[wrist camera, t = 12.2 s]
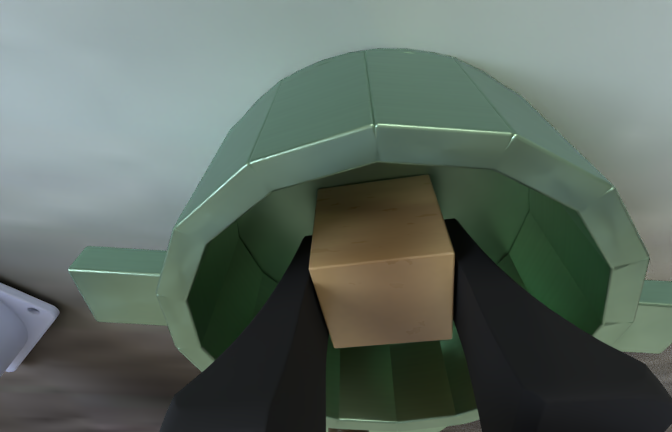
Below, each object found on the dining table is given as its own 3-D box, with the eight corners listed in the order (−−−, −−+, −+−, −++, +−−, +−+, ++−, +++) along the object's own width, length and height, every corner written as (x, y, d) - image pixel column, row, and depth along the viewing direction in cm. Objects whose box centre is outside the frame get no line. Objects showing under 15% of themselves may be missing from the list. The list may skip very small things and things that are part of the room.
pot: (94, 25, 11) (-78, 92, 6) (707, 69, 11) (939, 161, 7) (181, 304, 18) (131, 418, 14) (537, 324, 19) (594, 442, 14)
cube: (336, 265, 16) (333, 349, 13) (317, 188, 13) (307, 269, 10) (431, 254, 15) (453, 340, 12) (429, 173, 13) (456, 253, 10)
